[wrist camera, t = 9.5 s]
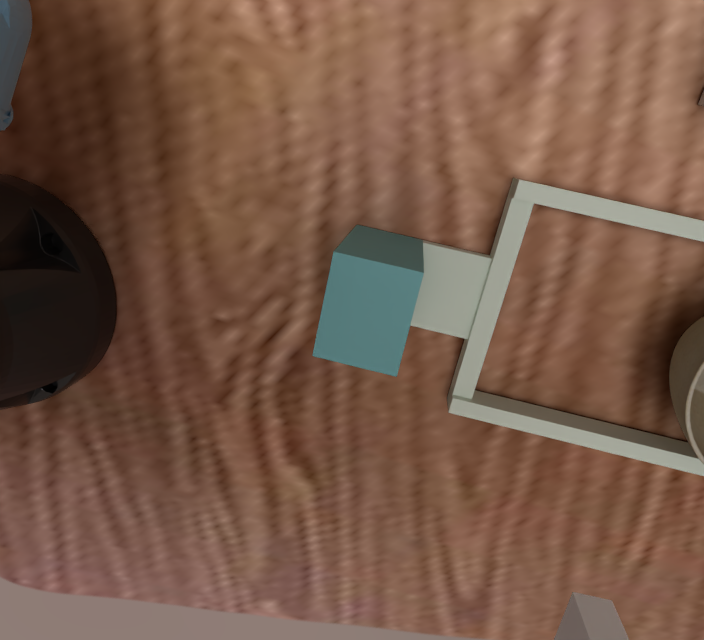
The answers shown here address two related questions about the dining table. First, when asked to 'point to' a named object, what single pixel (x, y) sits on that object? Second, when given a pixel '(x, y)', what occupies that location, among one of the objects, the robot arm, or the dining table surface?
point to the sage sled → (473, 314)
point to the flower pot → (689, 385)
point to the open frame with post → (701, 100)
